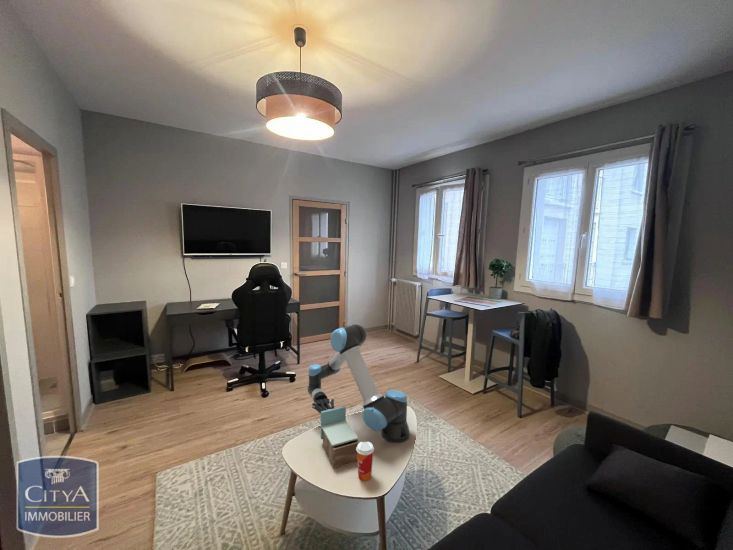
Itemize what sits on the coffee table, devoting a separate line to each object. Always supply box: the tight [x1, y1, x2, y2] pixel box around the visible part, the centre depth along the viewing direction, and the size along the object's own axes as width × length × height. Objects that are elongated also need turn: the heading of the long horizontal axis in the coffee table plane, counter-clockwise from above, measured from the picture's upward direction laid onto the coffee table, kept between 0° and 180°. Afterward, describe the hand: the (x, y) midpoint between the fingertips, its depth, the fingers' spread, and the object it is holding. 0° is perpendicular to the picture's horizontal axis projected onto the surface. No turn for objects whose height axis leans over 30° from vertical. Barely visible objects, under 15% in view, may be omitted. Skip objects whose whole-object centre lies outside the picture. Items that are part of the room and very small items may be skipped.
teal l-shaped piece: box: [320, 405, 359, 447], centre depth 148 cm, size 18×13×14 cm
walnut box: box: [322, 431, 361, 469], centre depth 146 cm, size 16×13×9 cm
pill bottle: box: [356, 441, 375, 482], centre depth 132 cm, size 8×8×14 cm
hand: (332, 417), depth 157 cm, fingers closed
